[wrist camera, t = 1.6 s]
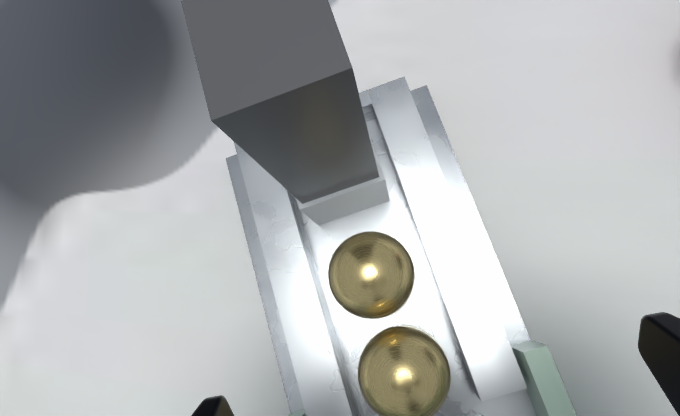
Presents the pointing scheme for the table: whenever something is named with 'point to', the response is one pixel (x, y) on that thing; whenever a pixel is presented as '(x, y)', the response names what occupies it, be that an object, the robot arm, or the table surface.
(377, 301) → the brass sphere
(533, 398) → the tray
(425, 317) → the slot rail
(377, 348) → the gold ball
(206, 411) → the robot arm
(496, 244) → the table surface
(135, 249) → the table surface
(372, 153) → the tall gray pillar
